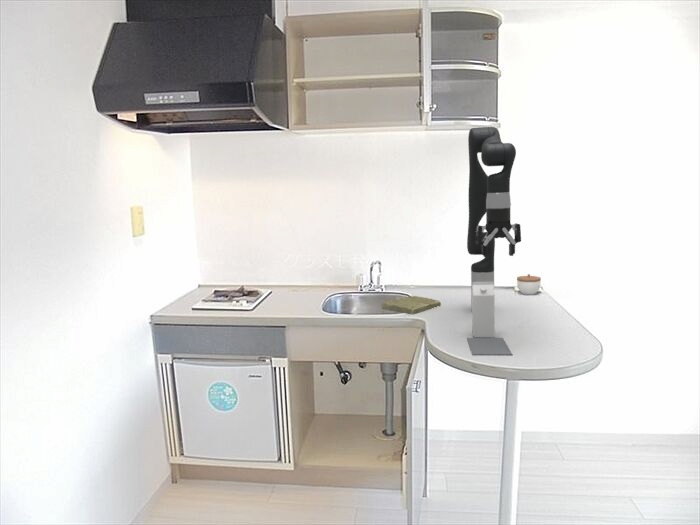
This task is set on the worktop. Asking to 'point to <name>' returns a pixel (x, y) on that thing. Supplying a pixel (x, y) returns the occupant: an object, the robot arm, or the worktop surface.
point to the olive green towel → (410, 304)
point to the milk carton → (483, 309)
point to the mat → (488, 346)
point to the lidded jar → (528, 284)
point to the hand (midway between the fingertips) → (498, 256)
